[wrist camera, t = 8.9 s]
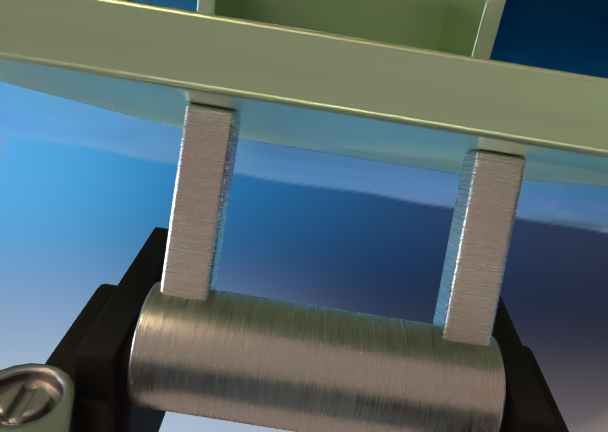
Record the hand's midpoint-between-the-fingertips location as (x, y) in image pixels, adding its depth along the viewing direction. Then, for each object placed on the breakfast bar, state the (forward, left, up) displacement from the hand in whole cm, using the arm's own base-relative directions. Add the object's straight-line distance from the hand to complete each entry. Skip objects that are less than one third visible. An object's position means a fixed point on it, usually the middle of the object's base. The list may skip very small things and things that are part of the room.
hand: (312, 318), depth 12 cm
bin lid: (-2, +2, -6) cm, 7 cm away
